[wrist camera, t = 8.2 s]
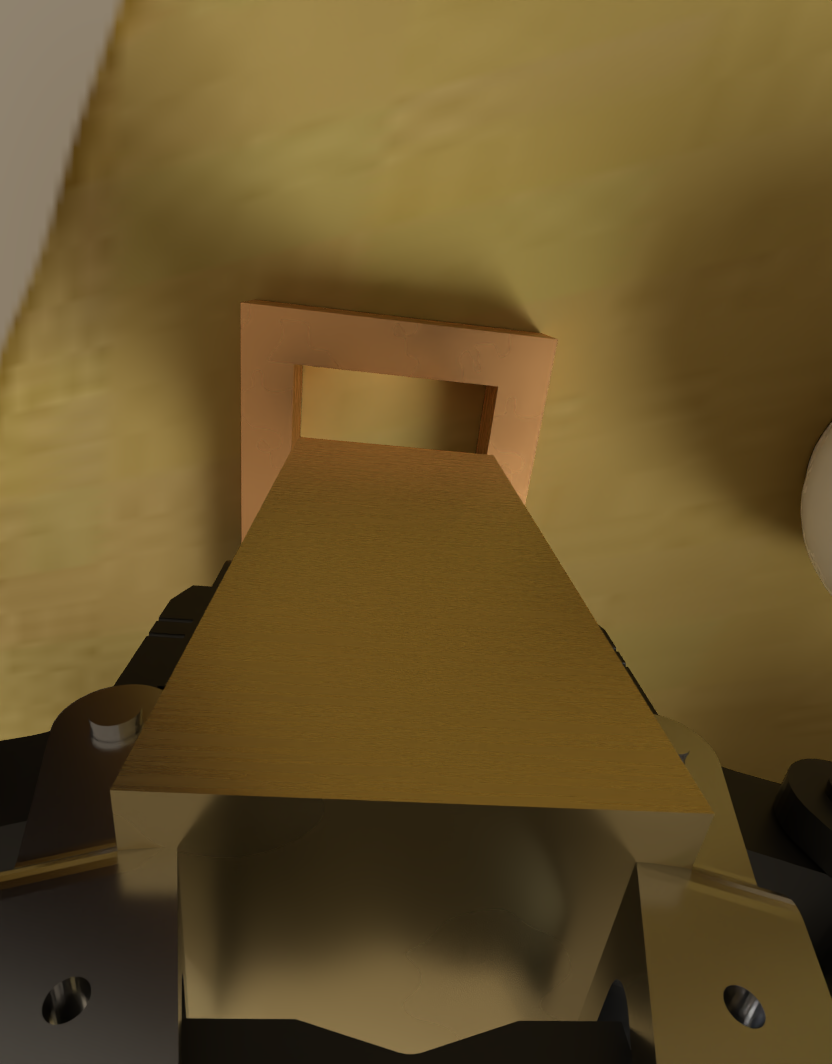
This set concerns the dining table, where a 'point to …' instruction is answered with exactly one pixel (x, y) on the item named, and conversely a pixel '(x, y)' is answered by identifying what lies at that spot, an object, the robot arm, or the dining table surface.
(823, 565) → the lidded jar
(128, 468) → the dining table surface
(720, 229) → the dining table surface
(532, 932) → the beige rectangular block
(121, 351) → the dining table surface
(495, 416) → the grey flat frame
